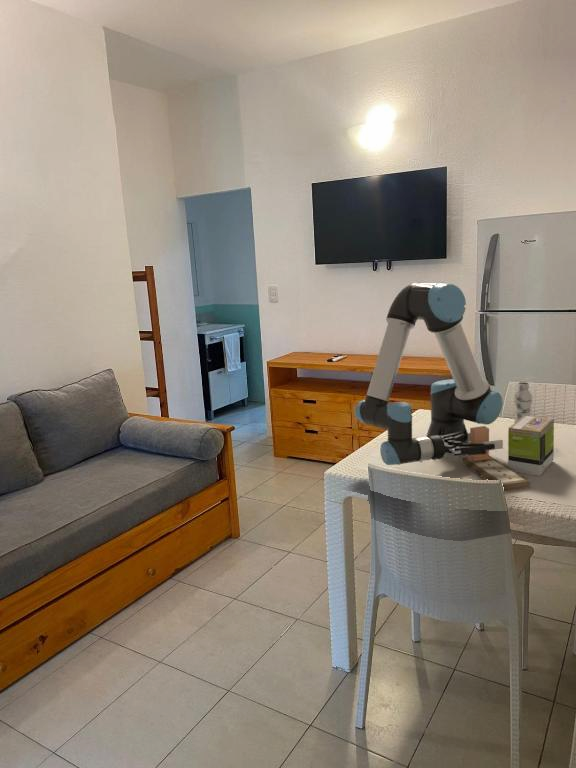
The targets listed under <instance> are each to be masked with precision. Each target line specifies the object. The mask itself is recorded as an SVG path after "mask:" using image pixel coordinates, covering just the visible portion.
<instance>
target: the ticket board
mask: <svg viewBox="0 0 576 768" xmlns="http://www.w3.org/2000/svg"><path fill="white" fill-rule="evenodd" d="M461 462H462V463H463V466H465V467H466V468H468V469H469V468H470V469H469V470H471V471H472V470H473V471H472V472H474V473H475V474H476V473H477V475H478V476H479V475H480V476H479V477H481V476H482V477H483V478H482V477H481V478H482V479H484V478H485V479H488V480H501V481H502V483H503V487H504V491H503V492H506V491H512V490H513V489H514V490H517V489H518V490H519V489H520V490H521V489H526V487H527V488H530V483H531V481H530V480H529V479H528V478H526V477H525V476H523V475H522V474H519V472H515V471H513V470H512V469H510V468H508V466H507V465H505V464H504V463H502V462H500V461H498V460H497V459H496V458H494V457H492V459H486V460H479V461H474V460H472V459H471V458H469V457H468V456H466V457H465V456H464V457H462V458H461ZM485 479H484V480H485ZM514 490H513V491H514Z"/></svg>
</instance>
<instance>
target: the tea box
mask: <svg viewBox="0 0 576 768" xmlns="http://www.w3.org/2000/svg"><path fill="white" fill-rule="evenodd" d="M507 431H508V434H507V437H508V438H507V439H508V444H507V446H508V452H507V453H508V456H507V457H508V458H507V459H508V461H507V462H508V464H507V465H508V466H507V467H508V468H510V469H512V470H513V471H515V472H516V473H521V474H524V475H525V474H526V475H532V476H538V477H540V476H541V475H542V474H543V473H544V472H545V470H546V469H547V468H548V467H549V466H550V465H551V464H552V463H553V461H554V460H555V459H554V452H555V451H554V450H555V448H554V445H555V444H554V441H555V440H554V439H555V438H554V437H555V435H554V433H555V432H554V431H555V419H554V418H549V417H548V418H547V417H539V416H538V417H537V416H531V415H530V416H523V417H521V418H520V419H519V420H518V421H517V422H515V423H514V422H513V424H511V426H509V427H508V430H507Z"/></svg>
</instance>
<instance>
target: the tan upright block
mask: <svg viewBox="0 0 576 768" xmlns="http://www.w3.org/2000/svg"><path fill="white" fill-rule="evenodd" d="M469 431H470V432H469V433H470V442H469V443H481V444H482V443H483V442H488V441H490V428H488V427H487V426H485V425H483V426H482V425H481V426H475V427H470V429H469ZM466 457H469V458H471V459H472V460H474V461H479V460H486V459H492V458H493V457H492V456H491V455H490V450H488V451H486V454H477V455H466Z"/></svg>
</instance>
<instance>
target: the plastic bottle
mask: <svg viewBox="0 0 576 768" xmlns="http://www.w3.org/2000/svg"><path fill="white" fill-rule="evenodd" d="M517 389H518V390H517V391H516V392H515V393H514V396H513V402H514V422H513V424H514V423H515V422H517V421H518V420H519V419H520V418H521V417H523V416H531V412H532V404H533V395H532V393H531V392H530V390H529V389H530V383H529V382H525V381H521V382H518V385H517Z"/></svg>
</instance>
